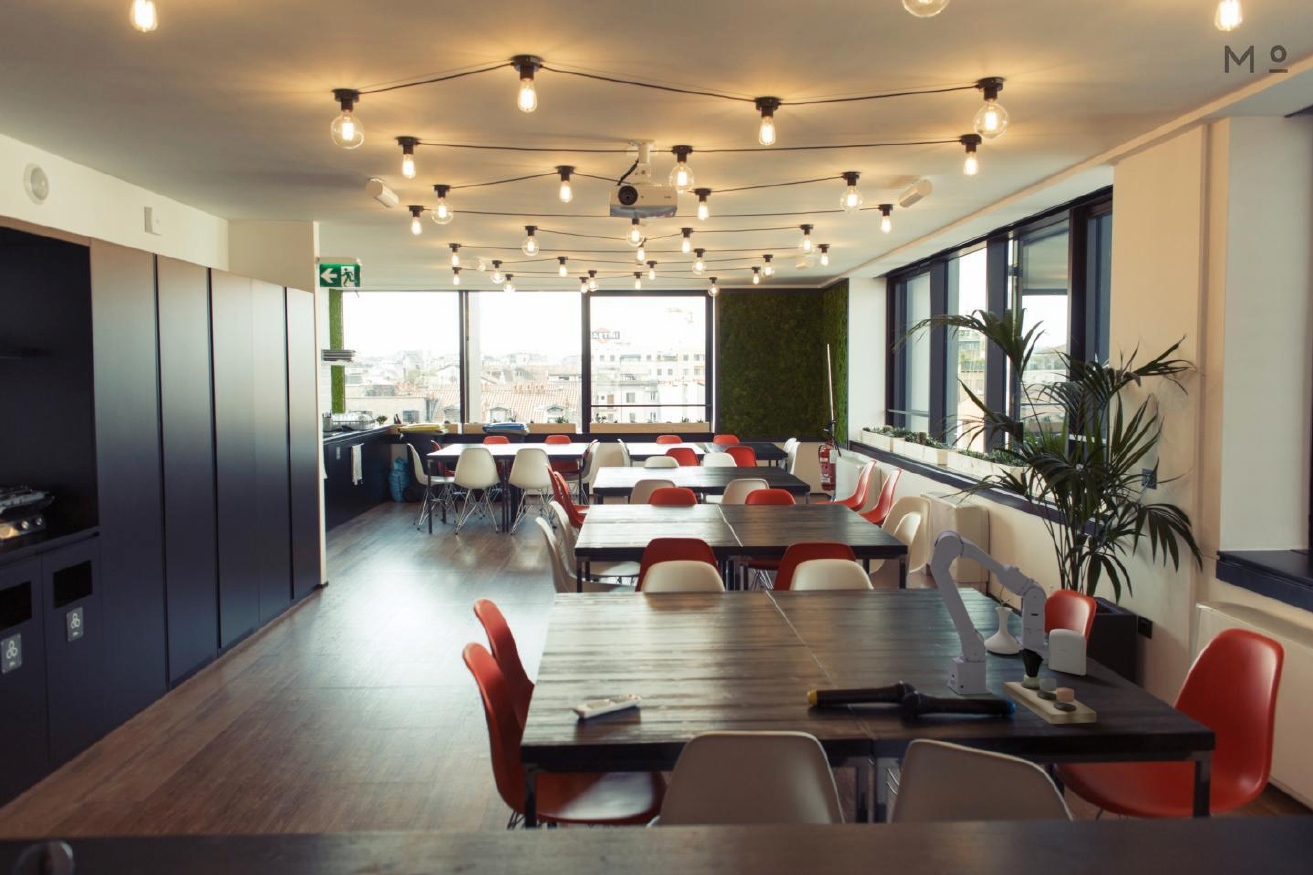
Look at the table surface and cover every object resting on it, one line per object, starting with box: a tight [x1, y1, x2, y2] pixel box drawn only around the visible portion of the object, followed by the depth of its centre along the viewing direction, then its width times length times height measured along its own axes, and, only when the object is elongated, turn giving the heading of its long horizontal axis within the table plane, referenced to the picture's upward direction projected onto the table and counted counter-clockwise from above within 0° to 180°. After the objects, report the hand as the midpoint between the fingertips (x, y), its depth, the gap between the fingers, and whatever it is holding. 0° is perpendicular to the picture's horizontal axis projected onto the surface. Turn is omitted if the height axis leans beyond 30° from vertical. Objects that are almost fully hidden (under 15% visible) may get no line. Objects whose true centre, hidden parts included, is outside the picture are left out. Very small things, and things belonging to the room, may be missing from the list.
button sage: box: [1023, 673, 1041, 688], centre depth 240 cm, size 4×4×2 cm
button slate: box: [1040, 676, 1057, 691], centre depth 232 cm, size 4×4×2 cm
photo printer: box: [1048, 628, 1087, 676], centre depth 260 cm, size 10×4×12 cm, turn 47°
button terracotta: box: [1056, 686, 1075, 702], centre depth 224 cm, size 4×4×2 cm
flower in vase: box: [984, 585, 1023, 655], centre depth 280 cm, size 13×11×25 cm
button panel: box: [1002, 681, 1098, 725], centre depth 233 cm, size 12×24×3 cm, turn 6°
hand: (1031, 677), depth 240 cm, fingers closed, pressing on button sage
